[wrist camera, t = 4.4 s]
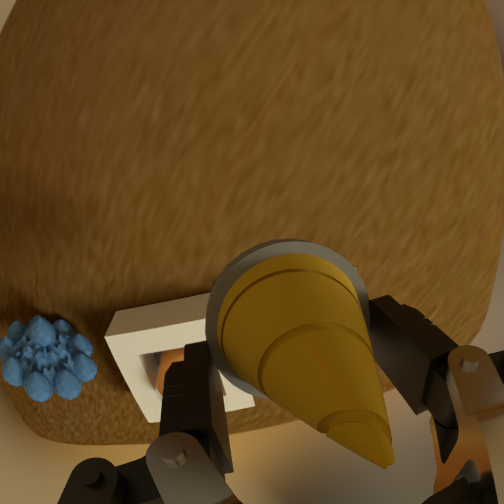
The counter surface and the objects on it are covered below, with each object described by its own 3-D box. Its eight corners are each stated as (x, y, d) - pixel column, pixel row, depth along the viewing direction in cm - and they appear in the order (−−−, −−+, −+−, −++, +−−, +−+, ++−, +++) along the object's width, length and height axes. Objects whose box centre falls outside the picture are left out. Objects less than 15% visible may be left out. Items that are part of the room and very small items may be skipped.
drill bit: (223, 366, 13) (247, 574, 3) (194, 249, 13) (130, 361, 3) (337, 337, 14) (481, 479, 4) (320, 222, 13) (529, 245, 3)
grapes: (112, 301, 30) (76, 374, 19) (111, 352, 32) (85, 430, 20) (20, 279, 27) (-38, 334, 16) (25, 330, 29) (-20, 392, 18)
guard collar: (116, 311, 30) (104, 336, 26) (227, 288, 31) (231, 313, 27) (152, 393, 34) (148, 422, 30) (248, 377, 35) (254, 405, 31)
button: (154, 344, 30) (149, 371, 26) (201, 335, 30) (202, 362, 26) (169, 379, 32) (166, 408, 27) (213, 372, 32) (215, 400, 28)
